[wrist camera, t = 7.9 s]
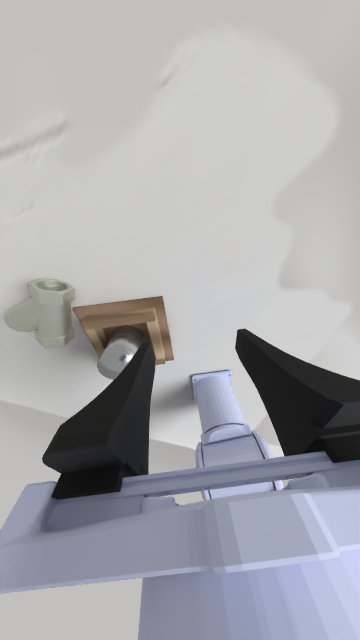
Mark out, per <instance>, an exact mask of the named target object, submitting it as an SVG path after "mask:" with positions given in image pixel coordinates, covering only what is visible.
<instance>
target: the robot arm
mask: <svg viewBox="0 0 360 640" xmlns="http://www.w3.org/2000/svg"><path fill="white" fill-rule="evenodd" d="M235 349H236V352H237V354H238V356H239V359H240V361H241V362H242V364H243V366H244V367H245V369H246V371H247V373H248V374H249V376H250V378H251V379H252V381H253V383H254V384H255V386H256V388H257V390H258V392H259V394H260V397H261V399H262V401H263V403H264V405H265V408H266V410H267V412H268V414H269V417H270V419H271V422H272V424H273V427H274V429H275V432H276V434H277V437H278V440H279V442H280V445H281V448H282V450H283V453H284V456H285V457H277V458H273V456H272V454H271V452H270V450H269V448H268V446H267V444H266V442H265V440H264V439H263V437H262V436H261V435H260V434H259V433H257V432H256V431H252V432H251V429H250V427H249V425H248V424H247V425H246V422H245V420H244V418H243V415H242V413H241V410H240V408H239V405H238V403H237V400H236V398H235V395H234V393H233V391H232V388H231V381H232V371H231V370H229V371H221V372H214V373H206V374H198V375H193V376H192V384H193V394H194V402H195V403H198V409H199V415H200V421H201V426H202V432H203V434H201V440H202V442H199V443H198V445H197V448H196V453H195V457H196V468H194V469H186V470H179V471H173V472H172V471H171V472H164V473H156V474H150V475H148V452H149V418H150V401H151V393H152V387H153V380H154V373H155V356H154V353H153V349H152V345H151V342H150V341H146V342H142V344H141V345H140V347H139V348H138V350H137V351H136V353H135V354H134V356H133V357H132V358H131V360H130V361H129V363H128V364H127V365H126V366H125V368H124V369H123V370H122V371H121V373H120V374H119V375H118V376H117V377H116V378H115V379H114V381H113V382H112V383H111V384H110V385H109V386H108V387H107V388H106V389H105V390H103V391H102V392H101V393H100V394H99V395H98V396H97V397H96V398H95V399H94V400H93V401H91V402H90V403H89V404H88V405H87V406H85V407H84V408H83V409H82V410H80V411H79V412H78V413H76V414H75V415H74V416H72V417H71V418H70V419H68V420H67V421H66V422H65V423H63V424H62V425H60V427H59V429H58V430H57V432H56V434H55V436H54V437H53V439H52V441H51V443H50V445H49V446H48V448H47V450H46V452H45V453H44V455H43V458H42V460H43V463H44V464H45V465H47V466H48V467H50V468H52V469H54V470H56V471H57V472H59V473H61V476H60V478H59V480H58V482H42V483H35V484H28V485H27V486H25V488H24V490H23V492H22V493H21V495H20V497H19V499H18V500H17V502H16V504H15V506H14V507H13V509H12V511H11V513H10V515H9V517H8V518H7V520H6V522H5V524H4V525H3V527H2V529H1V531H0V594H3V593H10V592H20V591H28V590H37V589H45V588H55V587H64V586H73V585H82V584H90V583H100V582H109V581H118V580H127V579H136V578H143V582H142V595H141V608H140V622H139V623H140V624H139V635H138V640H360V381H359V380H356V379H352V378H349V377H346V376H343V375H340V374H337V373H334V372H331V371H328V370H325V369H323V368H320V367H317V366H315V365H312V364H310V363H307V362H305V361H303V360H300V359H298V358H296V357H294V356H292V355H289V354H287V353H285V352H283V351H282V350H280V349H278V348H276V347H274V346H273V345H271V344H269V343H267V342H266V341H264V340H262V339H261V338H259V337H258V336H256V335H254V334H253V333H251V332H250V331H248V330H246V329H239V330H237V338H236V346H235ZM295 478H297V479H295ZM287 479H294V480H290V481H289V482H288V485H287V486H286V487H285V488H284V487H283V482H282V480H287ZM197 491H201V494H202V497H203V499H204V501H200V502H196V503H191V504H187V505H181V506H180V505H179V504H176V503H175V499H174V497H159V496H166V495H174V494H182V493H189V492H197Z"/></svg>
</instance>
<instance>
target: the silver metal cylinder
mask: <svg viewBox="0 0 360 640" xmlns="http://www.w3.org/2000/svg"><path fill="white" fill-rule="evenodd" d="M142 342H143V334H142V332H141V331H140V330H139V329H138V328H136V327H134V326H130V325H124V326H121V327H119V328H117V329H116V331H115V332H114V334H113V336H112V338H111V339H110V341H109V343H108V345H107V347H106V349H105V350H104V352H103V354H102V356H101V358H100V360H99V361H98V364H97V368H98V370H99V372H100V373H101V374H102V375H103V376H105V377H107V378H109V379H113V380H114V379H115V378H116V377H117V376H118V375H119V374H120V373H121V371H122V370H123V369H124V368H125V366H126V365H127V364H128V363H129V361H130V360H131V358H132V357H133V356H134V354H135V353H136V351H137V350H138V348H139V347H140V345H141V344H142Z"/></svg>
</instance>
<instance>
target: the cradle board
mask: <svg viewBox="0 0 360 640" xmlns="http://www.w3.org/2000/svg"><path fill="white" fill-rule="evenodd" d="M73 309H74V311H75V313H76V315H77V317H78V318H79V320H80V323H81V325H82V327H83V328H84V330H85V332H86V334H87V336H88V337H89V339H90V341H91V343H92V344H93V346H94V348H95V350H96V351H97V353H98V355H99V357H100V358H101V356H102V354H103V352H104V350H105V349H106V347H107V345H108V343H109V341H110V339H111V338H112V336H113V334H114V332H115V331H116V329H117V328H119V327H121V326H124V325H130V326H134V327H136V328H138V329H139V330H140V331H141V332H142V334H143V342H146V341H150V342H151V345H152V349H153V353H154V356H155V365H159V364H165V361H169V360H174V357H173V351H172V346H171V340H170V335H169V329H168V324H167V318H166V313H165V308H164V302H163V297H162V296H159V297H151V298H143V299H136V300H128V301H120V302H112V303H104V304H97V305H89V306H81V307H74V308H73Z"/></svg>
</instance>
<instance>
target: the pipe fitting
mask: <svg viewBox="0 0 360 640" xmlns="http://www.w3.org/2000/svg"><path fill="white" fill-rule="evenodd" d="M29 291H30V295H31V297H32V298H30V299H28V300H27V301H25V302H23V303H21V304H19V305H17V306H16V307H14V308H12V309H10V310H8V311H7V312H6V314H5V316H4V319H5V322H6V324H7V325H8V326H9V327H10V328H12V329H14V330H16V331H20V332H29V331H32V330H34V329H36V328H38V329H37V330H36V331H35V334H36V339H37V340H38V342H39V343H40V344H41V345H42V346H43V347H47V348H55V347H62V346H65V345H66V344H68V343H69V342H70V341H71V340H72V339H73V337H74V330H73V329H72V328H71V301H72V300H73V299H74V292H75V289H74V288H73V287H72V286H71V285H70V284H68V283H66V282H64V281H60V280H55V279H38V280H35V281H32V282H31V283H29Z"/></svg>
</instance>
